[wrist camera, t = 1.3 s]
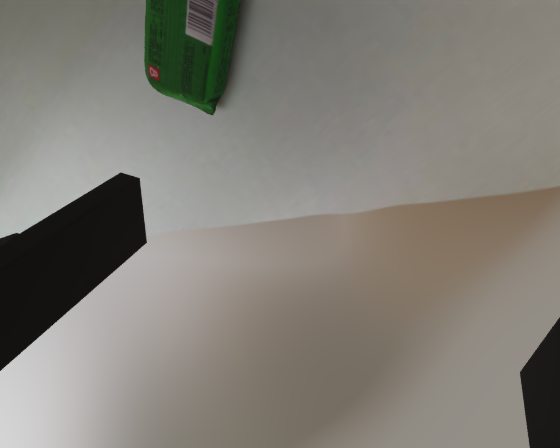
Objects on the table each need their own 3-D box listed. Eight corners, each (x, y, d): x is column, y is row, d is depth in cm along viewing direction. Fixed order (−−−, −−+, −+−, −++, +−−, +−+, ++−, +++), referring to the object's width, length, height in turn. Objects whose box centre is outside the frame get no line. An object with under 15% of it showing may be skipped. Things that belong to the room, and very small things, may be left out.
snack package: (264, -80, 31) (232, -87, 27) (229, 112, 40) (201, 129, 36) (183, -106, 32) (141, -117, 28) (167, 87, 41) (134, 100, 37)
